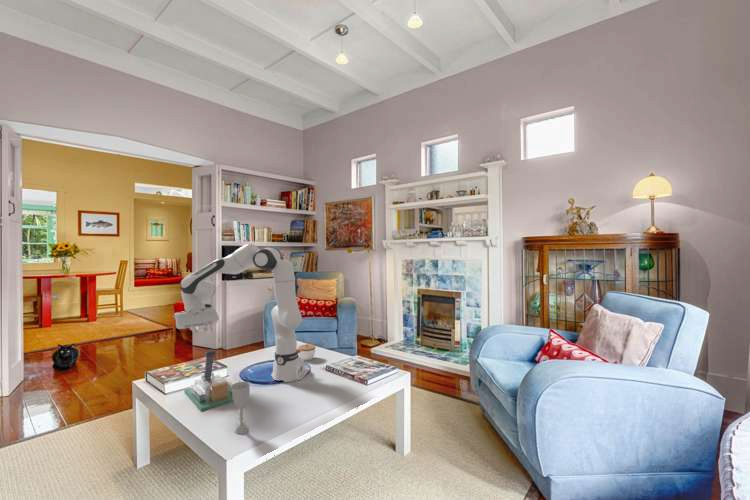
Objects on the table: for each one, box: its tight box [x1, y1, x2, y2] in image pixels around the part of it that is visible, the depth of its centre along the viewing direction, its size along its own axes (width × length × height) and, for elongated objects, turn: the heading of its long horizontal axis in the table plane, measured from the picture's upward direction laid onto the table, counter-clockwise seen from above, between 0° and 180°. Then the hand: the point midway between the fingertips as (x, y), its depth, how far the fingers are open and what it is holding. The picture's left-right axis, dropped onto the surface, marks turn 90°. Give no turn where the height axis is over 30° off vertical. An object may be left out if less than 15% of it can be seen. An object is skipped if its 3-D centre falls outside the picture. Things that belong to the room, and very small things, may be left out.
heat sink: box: [190, 371, 234, 402], centre depth 169 cm, size 16×15×7 cm
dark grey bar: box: [203, 349, 216, 379], centre depth 173 cm, size 16×4×2 cm
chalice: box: [231, 381, 252, 435], centre depth 138 cm, size 7×7×18 cm
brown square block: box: [210, 381, 228, 403], centre depth 162 cm, size 2×7×7 cm, turn 132°
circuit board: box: [183, 387, 234, 412], centre depth 170 cm, size 26×18×1 cm
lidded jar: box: [297, 343, 316, 362], centre depth 221 cm, size 11×11×9 cm
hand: (200, 332), depth 181 cm, fingers open, 4 cm apart
